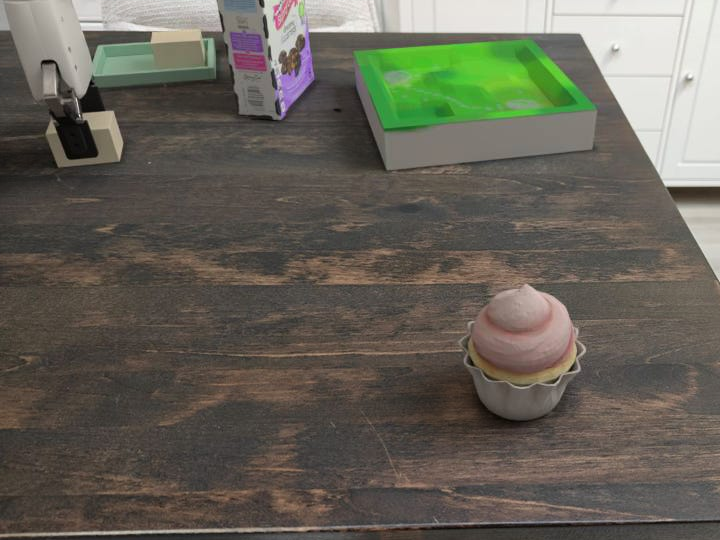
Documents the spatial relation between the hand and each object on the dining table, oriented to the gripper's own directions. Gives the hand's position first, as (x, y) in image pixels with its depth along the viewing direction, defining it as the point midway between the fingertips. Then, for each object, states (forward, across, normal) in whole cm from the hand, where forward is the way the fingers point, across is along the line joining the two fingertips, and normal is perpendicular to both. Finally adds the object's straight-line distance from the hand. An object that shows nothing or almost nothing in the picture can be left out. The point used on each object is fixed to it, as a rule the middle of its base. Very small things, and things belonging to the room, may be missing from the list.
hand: (89, 138), depth 85 cm
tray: (+3, -1, +45) cm, 45 cm away
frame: (+2, -26, +6) cm, 27 cm away
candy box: (+2, -12, +22) cm, 25 cm away
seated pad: (+1, -26, +9) cm, 28 cm away
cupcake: (+3, +50, +36) cm, 61 cm away
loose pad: (+2, 0, 0) cm, 2 cm away
